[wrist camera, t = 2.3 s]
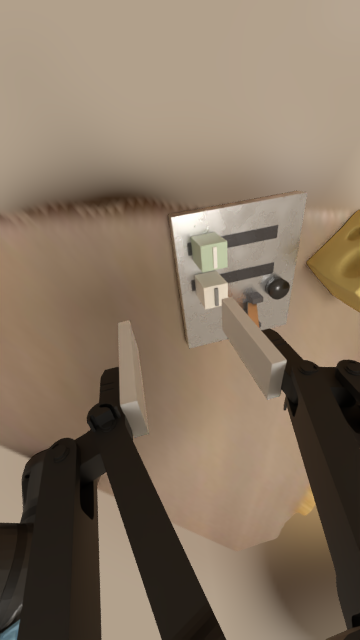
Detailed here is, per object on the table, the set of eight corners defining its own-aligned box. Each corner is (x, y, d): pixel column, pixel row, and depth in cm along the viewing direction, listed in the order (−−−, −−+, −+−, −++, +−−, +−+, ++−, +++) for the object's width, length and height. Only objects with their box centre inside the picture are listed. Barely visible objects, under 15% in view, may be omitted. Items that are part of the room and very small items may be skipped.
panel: (186, 341, 40) (192, 356, 37) (167, 214, 29) (174, 220, 26) (279, 318, 42) (292, 330, 39) (297, 190, 31) (317, 193, 27)
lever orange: (246, 316, 38) (248, 350, 32) (247, 300, 36) (249, 332, 30) (255, 316, 37) (259, 350, 31) (256, 300, 36) (260, 332, 30)
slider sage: (193, 260, 30) (203, 273, 27) (190, 236, 29) (201, 247, 25) (215, 256, 31) (228, 268, 27) (214, 232, 29) (228, 241, 25)
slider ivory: (196, 295, 33) (206, 310, 30) (194, 275, 31) (204, 289, 28) (216, 290, 33) (228, 305, 30) (216, 270, 32) (228, 284, 28)
